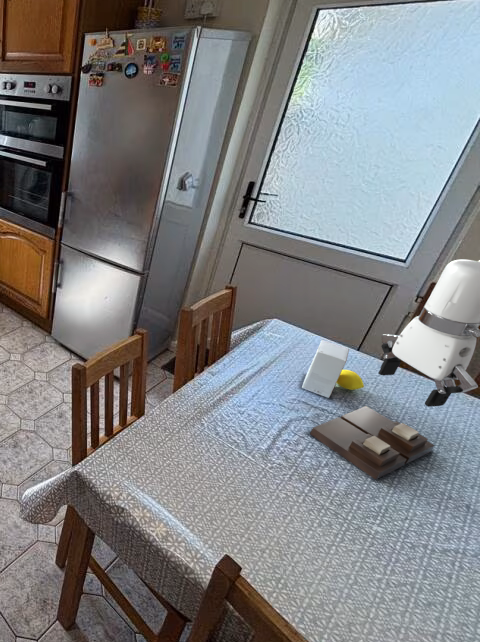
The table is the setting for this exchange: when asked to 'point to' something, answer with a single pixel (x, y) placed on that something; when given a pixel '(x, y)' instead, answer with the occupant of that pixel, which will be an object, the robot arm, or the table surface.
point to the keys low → (388, 433)
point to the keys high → (357, 448)
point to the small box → (325, 368)
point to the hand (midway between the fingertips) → (407, 389)
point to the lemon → (350, 380)
